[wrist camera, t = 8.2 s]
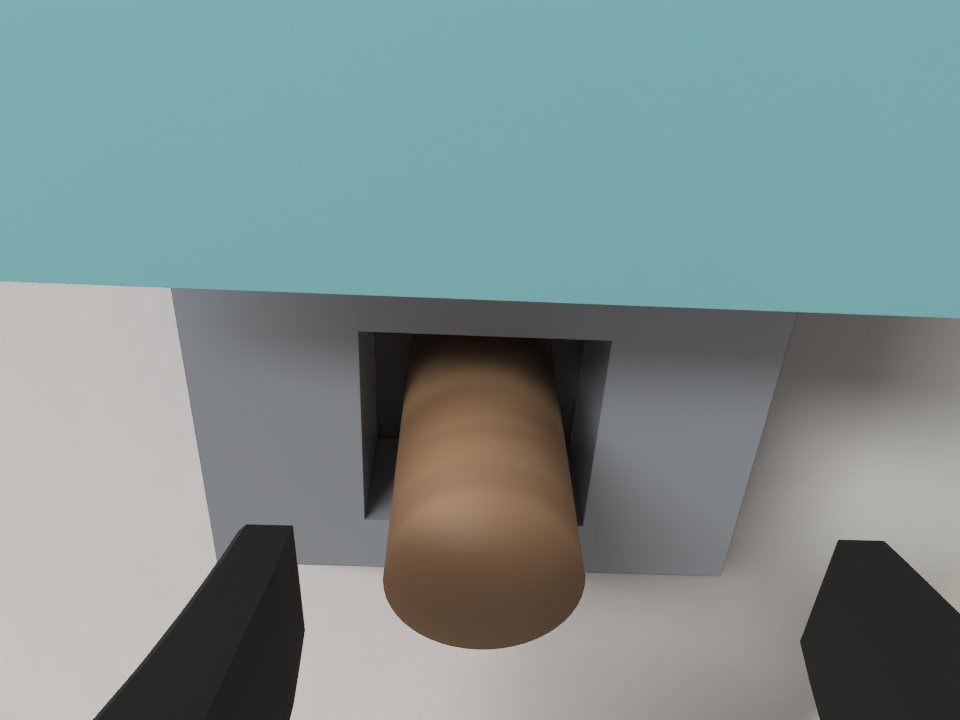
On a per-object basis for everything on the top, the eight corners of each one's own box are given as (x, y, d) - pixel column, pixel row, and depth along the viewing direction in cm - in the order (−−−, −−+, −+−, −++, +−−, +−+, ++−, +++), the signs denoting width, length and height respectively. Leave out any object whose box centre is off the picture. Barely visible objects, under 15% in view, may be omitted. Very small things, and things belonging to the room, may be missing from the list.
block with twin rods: (891, -91, 15) (1155, -30, 9) (824, 152, 18) (999, 320, 12) (107, -134, 15) (-134, -100, 9) (149, 121, 17) (-19, 280, 11)
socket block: (808, 24, 16) (869, 62, 14) (693, 492, 23) (720, 576, 20) (181, -8, 16) (126, 25, 13) (245, 477, 22) (217, 562, 20)
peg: (553, 417, 21) (585, 644, 16) (416, 425, 22) (396, 654, 16) (550, 295, 20) (585, 502, 14) (400, 305, 20) (369, 514, 14)
